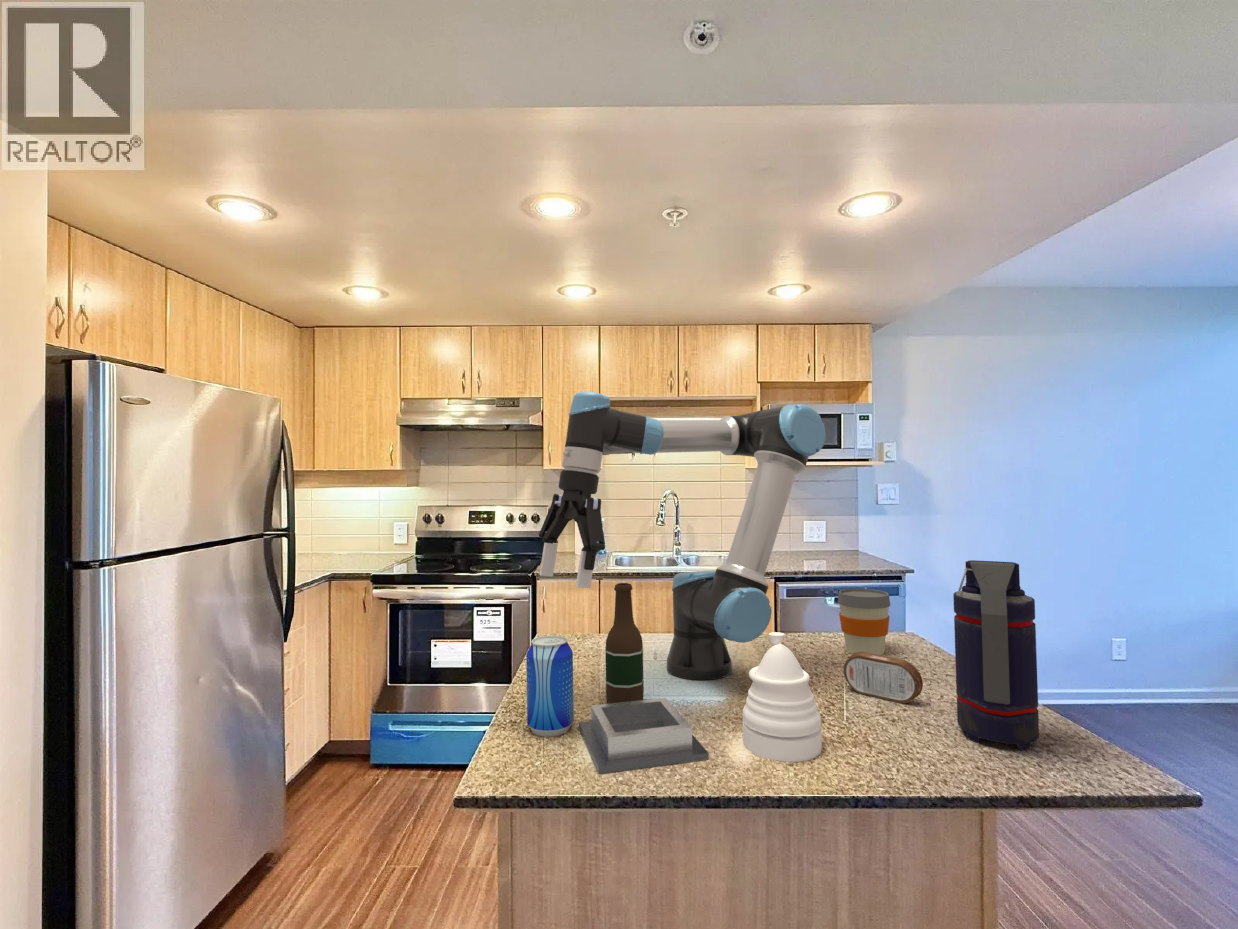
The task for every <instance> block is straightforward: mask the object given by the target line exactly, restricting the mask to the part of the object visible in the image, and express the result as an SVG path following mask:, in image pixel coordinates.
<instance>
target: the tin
mask: <svg viewBox="0 0 1238 929" xmlns="http://www.w3.org/2000/svg"><path fill="white" fill-rule="evenodd" d="M843 676H844V679H845V682H846V683H847V684H848V685H849V687H850V688H851V689H852V690H853V691H855V692H857V693H858V694H861V695H864V696H868V697H872V698H876V699H882V700H886V701H890V702H893V703H897V704H898V703H899V704H907V703H910V702H912V701H914V700H916V698H918V697H919V696H920V695H921V693H922V691H923V688H924V687H923V686H924V685H923V684H924V681H923V677H922V675H921V673H920V672H919V670H918V668H917V667H916V666H914V664H912V663H911V662H910V661H908V660H906V659H903V658H898V657H894V656H887V655H884V654H883V655H878V654H873V653H868V652H857V653H854V654H852V655H851V656H849V657H848V659H847V660H845V663H844V664H843Z"/></svg>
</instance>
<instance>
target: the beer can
mask: <svg viewBox="0 0 1238 929" xmlns="http://www.w3.org/2000/svg"><path fill="white" fill-rule="evenodd" d="M530 642H531V644H530V646H529V648H528V649H527V652H526V655H525V656H526V659H525V660H526V723H527V726H528V727H529V729H530V730H531V732H532V733H533V734H534V735H536V736H539V737H547V738H548V737H557V736H561V735H564V734H565V732H566V733H567V732H568V731H569V730H570V728H571V727H572V725H573V723H574V720H575V717H574V715H575V714H574V711H575V710H574V708H575V706H574V704H575V703H574V659H573V658H574V653H573V649H572V648H571V646H570V645H569V643H568V638H567V637H565V636H561V635H542V636H537V637H534V638H533V639H532V640H531V641H530Z"/></svg>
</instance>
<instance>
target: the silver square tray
mask: <svg viewBox="0 0 1238 929" xmlns="http://www.w3.org/2000/svg"><path fill="white" fill-rule="evenodd" d="M590 710H591V711H590V712H591V714H590V715H591V716H590V718H591V720H586V721H585V720H584V721H579V722H578V730H579V732H580V734H581V737H582V739H583V740H584V743H585V745H586V747H587V750H588V752H589V755H590V757H591V759H592V761H593V764H594V767H595V769H596V771H597V774H598V775H601V774H610V773H614V772H615V773H616V772H617V773H618V772H624V771H632V770H640V769H646V768H647V769H648V768H655V767H661V766H671V765H677V764H684V763H690V762H692V763H693V762H699V761H706V760H709V756H710V755H709V754H710V753H709V752H708V751H707V749H705V747H704V746H703V744H701V743H700V741H699V740H698V739H697V738H696V737H695V736H694V734H693V727H692V726H691V725H690V724H689V722H687V720H686V719H685V718H684V717H683V716H682V714H681V713H680V712H679V711H678V710H677V709H676V708H675V707H674V706H673V704H672V703H671V702H670V701H669V700H668V699H667V697H661V698H660V697H659V698H651V699H643V700H639V701H629V702H620V703H610V704H607V703H604V704H594V705H593V704H591V705H590Z"/></svg>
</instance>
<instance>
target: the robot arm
mask: <svg viewBox="0 0 1238 929" xmlns="http://www.w3.org/2000/svg"><path fill="white" fill-rule="evenodd" d="M571 401H572V402H571V404H570V410H569V413H568V422H567V429H566V430H567V431H566V437H565V443H564V444H565V445H564V449H563V450H564V451H563V452H562V455H563V456H562V462H561V463H562V464H561V467H562V468H563V470H561V471H560V474H559V475H560V476H559V481H558V489H559V490H561V491H563V492H562V494H558V493H554V494H553V496H552V500H551V504H550V507H549V509H548V512H547V513H546V517H545V518H544V521H543V523H542V525H541V528H540V531H539V532H538V537H539V538H540V539H542V542H543V548H542V553H541V554H542V555H541V562H540V569H539V576H540V577H552V578H553V577H554V571H555V566H556V558H557V552H558V546H559V545H558V544H559V541H558V540H559V537H560V536H561V534H562V533H563V531H564V529H565V528H566V526H567V525H568V524H569V522H570V521H571V522H572V520H573V521H574V522H576V524H577V528H578V531H579V536H580V539H581V542H582V548H581V549H580V556H579V560H578V561H579V562H578V569H577V576H576V580H575V581H576V583H575V588H579V589H591V584H592V580H593V579H592V578H593V572H594V569H595V562H596V559H597V558H596V555H597V553H599V551H604V550H605V549H606V543H605V534H604V528H603V520H602V512H601V511H602V509H601V508H602V499H601V498H597V497H592V495H595V494H597V493H598V486H599V480H600V477H599V475H597V474H599V473H600V472H601V470H602V468H601V467H602V461H603V456H610V455H623V454H624V455H625V454H626V455H627V454H629V455H630V454H639V455H643V454H644V455H650V456H651V455H654V454H658V453H659V454H661V453H666V454H667V453H697V452H698V453H702V452H703V453H706V452H710V453H711V452H720V453H721V454H722V455H725V456H742V457H751V458H752V457H753V458H755V460H756V462H757V465H756V466H757V467H756V469H755V473H754V475H753V479H752V481H751V484H750V486H749V487H750V489H749V491H748V493H747V497H746V500H745V503H744V506H743V509H742V512H741V515H740V518H739V521H738V525H737V528H736V531H735V534H734V536H733V540H732V543H731V545H730V546H731V547H730V549H729V552H728V555H727V558H726V560H725V563H724V564H722V565H720V566H717V567H716V569H715V570H700V571H688V572H678V573H676V574H674V576H673V578H672V589H671V591H672V614H673V616H672V617H673V619H672V620H673V638H672V642H671V645H670V648H669V651H668V656H667V658H666V669H667V672H668V673H669V674H671V675H673V676H675V677H678V678H681V679H687V680H697V681H698V680H702V681H703V680H716V679H721V678H724V677H727V676H728V675H729V676H730V674H731V673H732V671H733V670H732V669H733V664H732V663H733V662H732V658H731V655H730V652H729V650H728V646H727V644H726V641H725V640H727V641H732V642H734V643H735V642H736V643H743V644H744V643H749V642H752V641H754V640H756V639H757V638H759V637H760V636H762V635H763V633H764V632H765V631H766V629H768V626H769V625H770V622H771V618H772V606H771V604H770V599H769V597H768V596H767V593H768V589H769V583H768V582H767V580H766V578H765V574H766V571H767V567H768V566H769V565H768V564H769V561H770V558H771V555H772V551H773V549H774V545H775V542H776V538H777V535H778V532H779V529H780V526H781V523H782V520H783V516H784V513H785V511H786V507H787V504H788V502H789V500H788V499H789V496H790V494H791V490H792V488H793V484H794V481H795V478H796V475H797V474H799V473H800V474H801V473H802V472H804V471H805V470H806V467H807V463H808V459H809V457H811V456H814V455H816V454H817V453H818V452H820V451H821V450H822V449H823V447H824V445H825V442H826V428H825V423H824V422H823V421H822V417H821V415H820V414H819V413H818V412H817V411H816V409H814V408H813V407H811V406H809V405H807V404H803V403H797V404H793V403H790V404H786V405H783V406H779V407H771V408H767V409H761V410H756V411H751V412H749V413H744V414H743V413H742V414H739V415H725V416H723V417H721V418H720V419H711V420H710V419H702V420H701V419H699V420H698V419H694V420H693V419H682V420H680V419H678V420H677V419H673V420H672V419H670V420H669V419H667V420H665V419H661V420H660V419H655V418H652V417H649V416H648V415H640V414H636V413H632V412H627V411H622V410H617V409H614V408H611V399H610V397H609V396H608V395H605V394H603V393H599V392H594V391H580V392H576V393H575V394H574V395H573V396H572V400H571Z"/></svg>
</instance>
